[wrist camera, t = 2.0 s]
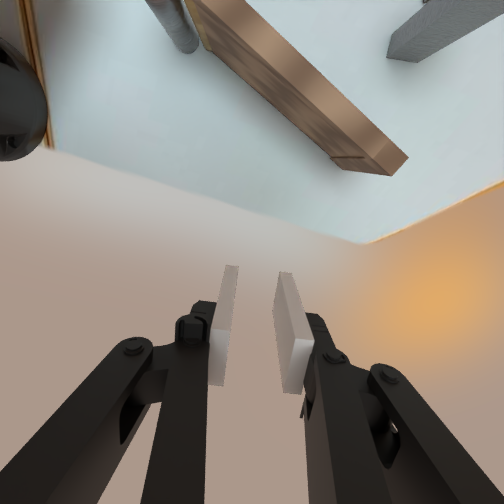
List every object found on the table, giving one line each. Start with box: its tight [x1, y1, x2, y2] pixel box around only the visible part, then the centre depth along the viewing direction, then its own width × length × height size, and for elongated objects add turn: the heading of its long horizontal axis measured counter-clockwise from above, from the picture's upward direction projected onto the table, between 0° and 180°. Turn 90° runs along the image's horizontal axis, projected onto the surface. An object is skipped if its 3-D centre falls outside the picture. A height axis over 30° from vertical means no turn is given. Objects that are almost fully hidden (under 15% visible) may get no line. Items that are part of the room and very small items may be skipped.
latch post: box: [386, 0, 504, 63], centre depth 25 cm, size 4×3×17 cm, turn 82°
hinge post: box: [145, 0, 199, 54], centre depth 26 cm, size 3×3×16 cm
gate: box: [184, 0, 409, 176], centre depth 28 cm, size 24×2×14 cm, turn 52°
